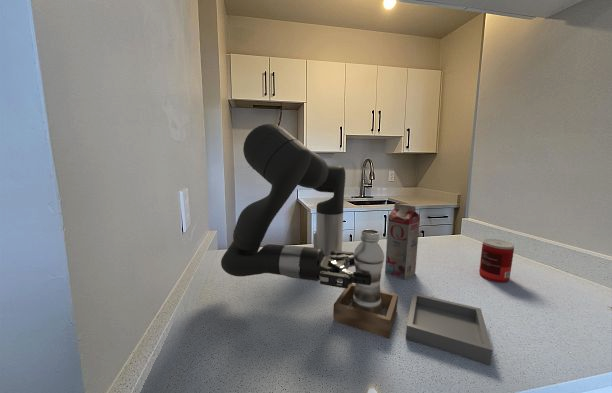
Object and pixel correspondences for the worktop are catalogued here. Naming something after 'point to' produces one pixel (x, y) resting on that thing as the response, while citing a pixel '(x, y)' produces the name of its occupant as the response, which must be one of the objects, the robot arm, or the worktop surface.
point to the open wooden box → (366, 313)
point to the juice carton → (402, 241)
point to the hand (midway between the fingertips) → (371, 271)
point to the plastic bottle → (369, 262)
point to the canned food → (496, 260)
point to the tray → (449, 328)
